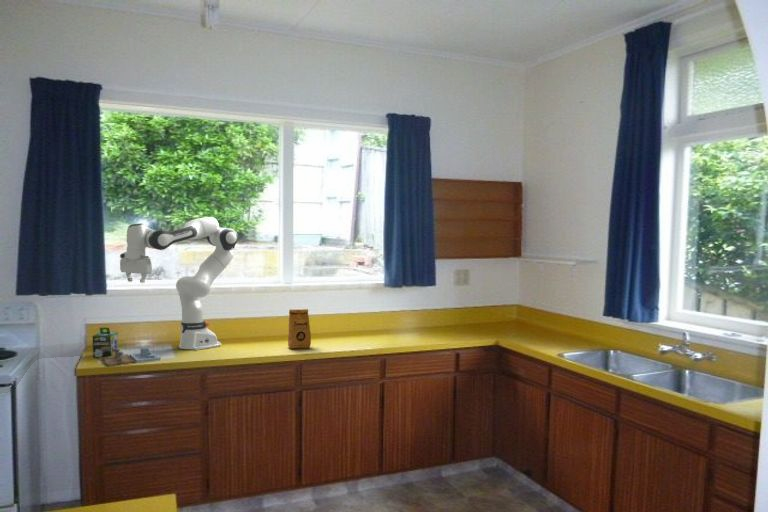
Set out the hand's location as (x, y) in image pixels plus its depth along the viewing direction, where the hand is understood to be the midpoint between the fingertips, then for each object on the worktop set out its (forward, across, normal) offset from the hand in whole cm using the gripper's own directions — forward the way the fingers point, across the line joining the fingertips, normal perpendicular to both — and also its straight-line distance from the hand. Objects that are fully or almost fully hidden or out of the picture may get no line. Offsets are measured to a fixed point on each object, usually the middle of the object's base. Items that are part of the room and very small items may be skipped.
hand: (136, 282), depth 280 cm
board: (+38, -4, +14) cm, 40 cm away
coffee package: (+38, -60, -59) cm, 92 cm away
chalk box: (+38, +12, +9) cm, 41 cm away
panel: (+38, -10, +3) cm, 39 cm away
